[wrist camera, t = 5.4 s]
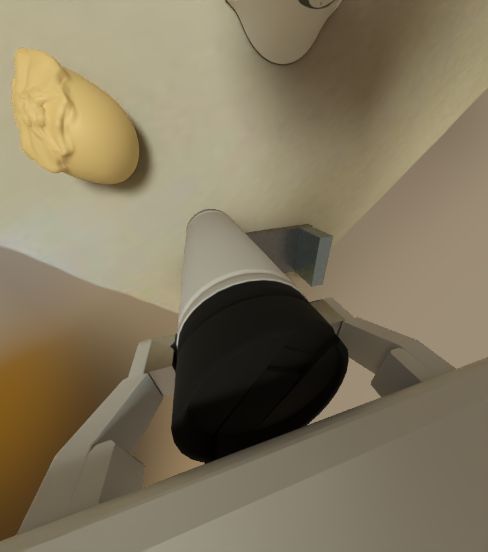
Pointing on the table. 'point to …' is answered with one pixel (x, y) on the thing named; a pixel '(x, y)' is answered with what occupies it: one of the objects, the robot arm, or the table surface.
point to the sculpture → (70, 122)
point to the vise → (296, 250)
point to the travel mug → (245, 346)
